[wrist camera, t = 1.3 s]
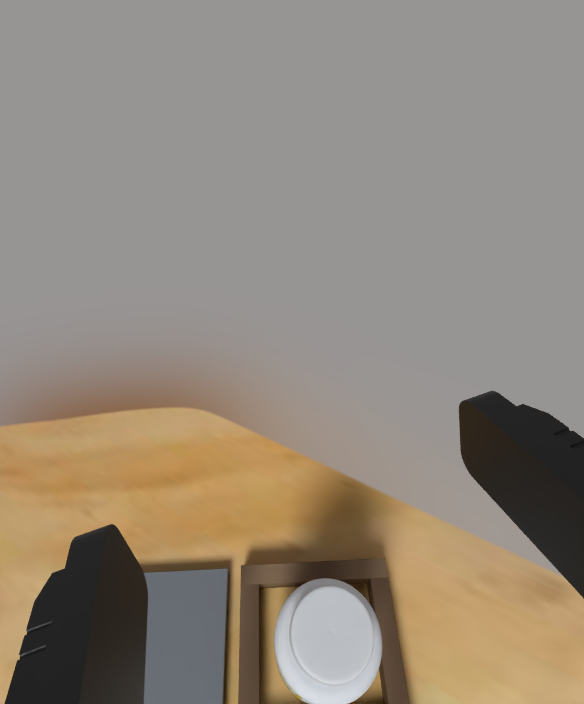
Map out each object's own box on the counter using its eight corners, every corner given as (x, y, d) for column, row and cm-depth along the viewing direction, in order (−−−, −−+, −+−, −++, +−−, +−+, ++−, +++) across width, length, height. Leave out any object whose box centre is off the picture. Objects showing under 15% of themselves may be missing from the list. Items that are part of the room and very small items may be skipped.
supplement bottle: (373, 627, 29) (408, 601, 21) (342, 726, 26) (369, 738, 18) (297, 586, 31) (304, 547, 23) (260, 675, 27) (251, 665, 19)
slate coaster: (42, 775, 24) (36, 777, 24) (85, 578, 31) (81, 575, 30) (221, 762, 25) (220, 764, 24) (228, 571, 31) (227, 568, 30)
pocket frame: (239, 761, 25) (237, 764, 24) (242, 570, 31) (241, 565, 30) (410, 749, 25) (417, 751, 24) (380, 563, 32) (384, 558, 30)
